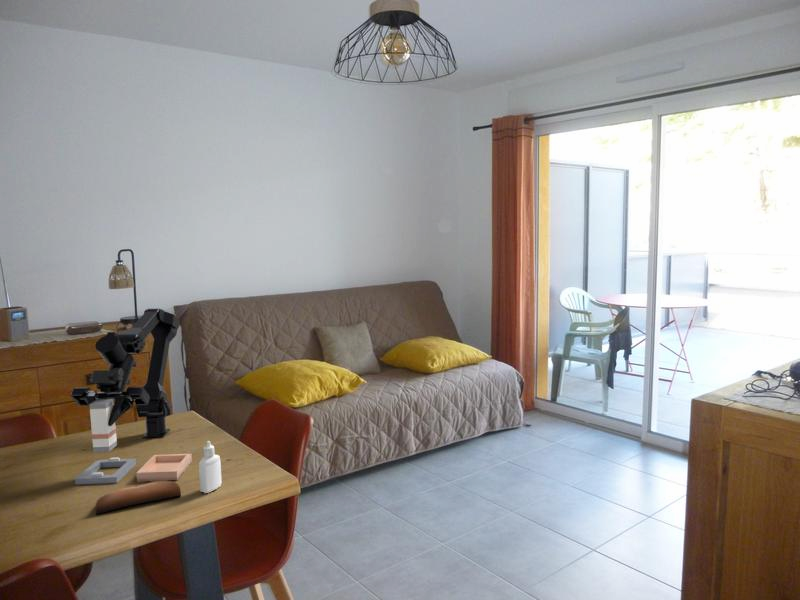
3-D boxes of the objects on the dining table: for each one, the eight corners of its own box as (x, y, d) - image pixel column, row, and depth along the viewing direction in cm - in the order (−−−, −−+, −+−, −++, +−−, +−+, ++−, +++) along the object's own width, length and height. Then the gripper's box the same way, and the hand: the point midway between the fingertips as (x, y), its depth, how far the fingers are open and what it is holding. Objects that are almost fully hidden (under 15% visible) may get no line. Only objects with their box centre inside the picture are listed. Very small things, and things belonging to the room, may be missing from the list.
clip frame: (97, 465, 158) (97, 457, 158) (136, 463, 159) (135, 455, 159) (75, 484, 146) (74, 475, 146) (116, 482, 147) (116, 474, 146)
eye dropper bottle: (225, 488, 142) (223, 441, 141) (202, 495, 139) (199, 446, 137) (219, 483, 145) (216, 436, 144) (196, 489, 142) (193, 441, 141)
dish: (154, 463, 159) (153, 454, 159) (191, 462, 159) (191, 453, 159) (137, 481, 147) (136, 472, 147) (177, 480, 147) (176, 471, 147)
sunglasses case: (176, 484, 145) (177, 466, 141) (181, 507, 140) (181, 490, 137) (95, 500, 137) (93, 482, 133) (96, 526, 132) (94, 508, 128)
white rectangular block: (101, 445, 154) (97, 399, 152) (117, 444, 154) (113, 398, 153) (93, 452, 149) (89, 404, 148) (109, 451, 149) (105, 403, 148)
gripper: (71, 357, 153) (49, 411, 143) (141, 356, 153) (124, 410, 143) (89, 379, 162) (70, 431, 152) (156, 378, 162) (141, 430, 152)
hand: (100, 425), depth 150 cm, fingers closed on white rectangular block, 4 cm apart
